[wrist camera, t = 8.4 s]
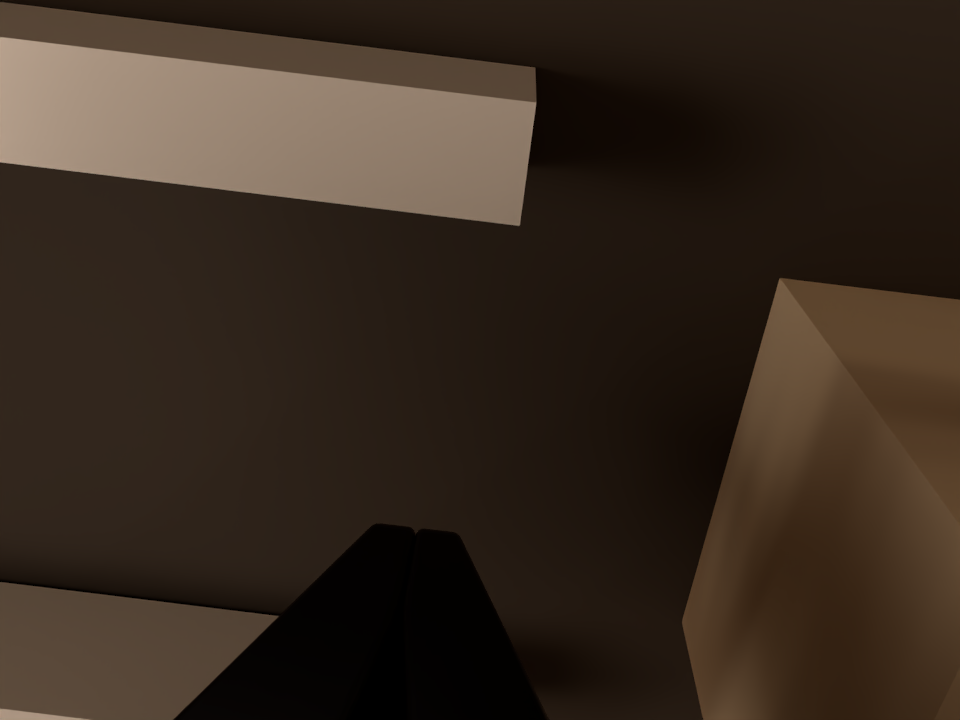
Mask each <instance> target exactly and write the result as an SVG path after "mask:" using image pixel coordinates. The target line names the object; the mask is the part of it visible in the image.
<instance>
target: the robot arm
mask: <svg viewBox="0 0 960 720" xmlns="http://www.w3.org/2000/svg"><path fill="white" fill-rule="evenodd" d="M173 720H549V719H548V717H547V714H546V712H545V710H544V708H543V706H542V704H541V702H540V700H539V698H538V696H537V694H536V692H535V690H534V688H533V686H532V684H531V682H530V679H529V677H528V675H527V673H526V671H525V669H524V667H523V665H522V663H521V661H520V659H519V657H518V655H517V653H516V651H515V649H514V647H513V644H512V642H511V640H510V638H509V636H508V634H507V632H506V630H505V628H504V626H503V624H502V622H501V620H500V618H499V616H498V614H497V612H496V609H495V607H494V605H493V603H492V601H491V599H490V597H489V595H488V593H487V591H486V589H485V587H484V585H483V583H482V581H481V579H480V576H479V574H478V572H477V570H476V568H475V566H474V564H473V562H472V560H471V558H470V556H469V554H468V552H467V550H466V548H465V546H464V544H463V541H462V540H461V538H460V536H459V535H458V534H456V533H454V532H448V531H439V530H431V529H421V530H419V531H418V532H417V533H416V536H415V532H414V530H413V529H412V528H411V527H406V526H397V525H389V524H381V523H380V524H374V525H372V526H371V527H370V528H369V529H368V530H367V531H366V532H365V533H364V534H363V535H362V536H361V537H360V538H359V539H358V540H356V541H355V542H354V543H353V544H352V545H351V546H350V547H349V548H348V549H347V550H346V551H345V552H344V553H343V554H342V555H341V556H340V557H339V558H338V559H337V560H336V561H335V562H334V563H333V564H332V565H331V566H330V567H329V568H328V569H327V570H326V571H325V572H324V573H323V574H322V575H321V576H320V577H319V578H318V579H317V580H316V581H314V582H313V583H312V584H311V585H310V586H309V587H308V588H307V589H306V590H305V591H304V592H303V593H302V594H301V595H300V596H299V597H298V598H297V599H296V600H295V601H294V602H293V603H292V604H291V605H290V606H289V607H288V608H287V609H286V610H285V611H284V612H283V613H282V614H281V615H280V616H279V617H278V618H277V619H276V620H275V621H274V622H273V623H271V624H270V625H269V626H268V627H267V628H266V629H265V630H264V631H263V632H262V633H261V634H260V635H259V636H258V637H257V638H256V639H255V640H254V641H253V642H252V643H251V644H250V645H249V646H248V647H247V648H246V649H245V650H244V651H243V652H242V653H241V654H240V655H239V656H238V657H237V658H236V659H235V660H234V661H233V662H232V663H231V664H230V665H228V666H227V667H226V668H225V669H224V670H223V671H222V672H221V673H220V674H219V675H218V676H217V677H216V678H215V679H214V680H213V681H212V682H211V683H210V684H209V685H208V686H207V687H206V688H205V689H204V690H203V691H202V692H201V693H200V694H199V695H198V696H197V697H196V698H195V699H194V700H193V701H192V702H191V703H190V704H189V705H187V706H186V707H185V708H184V709H183V710H182V711H181V712H180V713H179V714H178V715H177V716H176V717H175V718H174V719H173Z"/></svg>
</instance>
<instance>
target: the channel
mask: <svg viewBox="0 0 960 720" xmlns="http://www.w3.org/2000/svg"><path fill="white" fill-rule="evenodd" d="M535 109H536V72H535V67H527V66H519V65H510V64H502V63H494V62H486V61H478V60H470V59H462V58H453V57H445V56H437V55H429V54H421V53H413V52H405V51H396V50H388V49H380V48H372V47H364V46H356V45H347V44H339V43H331V42H323V41H315V40H307V39H299V38H290V37H282V36H274V35H266V34H258V33H250V32H241V31H233V30H225V29H217V28H209V27H201V26H193V25H184V24H176V23H168V22H160V21H152V20H144V19H135V18H127V17H119V16H111V15H103V14H95V13H87V12H78V11H70V10H62V9H54V8H46V7H38V6H30V5H21V4H13V3H5V2H0V162H3V163H11V164H19V165H27V166H35V167H43V168H52V169H60V170H68V171H76V172H84V173H92V174H101V175H109V176H117V177H125V178H133V179H141V180H150V181H158V182H166V183H174V184H182V185H190V186H198V187H207V188H215V189H223V190H231V191H239V192H247V193H256V194H264V195H272V196H280V197H288V198H296V199H304V200H313V201H321V202H329V203H337V204H345V205H353V206H362V207H370V208H378V209H386V210H394V211H402V212H410V213H419V214H427V215H435V216H443V217H451V218H459V219H468V220H476V221H484V222H492V223H500V224H508V225H516V226H520V220H521V213H522V205H523V198H524V190H525V183H526V176H527V168H528V161H529V154H530V146H531V139H532V131H533V124H534V117H535ZM278 617H279V616H274V615H266V614H258V613H249V612H241V611H233V610H225V609H217V608H209V607H200V606H192V605H184V604H176V603H168V602H160V601H152V600H143V599H135V598H127V597H119V596H111V595H103V594H94V593H86V592H78V591H70V590H62V589H54V588H45V587H37V586H29V585H21V584H13V583H5V582H0V720H173V719H174V718H175V717H176V716H177V715H178V714H179V713H180V712H181V711H182V710H183V709H184V708H185V707H186V706H187V705H189V704H190V703H191V702H192V701H193V700H194V699H195V698H196V697H197V696H198V695H199V694H200V693H201V692H202V691H203V690H204V689H205V688H206V687H207V686H208V685H209V684H210V683H211V682H212V681H213V680H214V679H215V678H216V677H217V676H218V675H219V674H220V673H221V672H222V671H223V670H224V669H225V668H226V667H227V666H228V665H230V664H231V663H232V662H233V661H234V660H235V659H236V658H237V657H238V656H239V655H240V654H241V653H242V652H243V651H244V650H245V649H246V648H247V647H248V646H249V645H250V644H251V643H252V642H253V641H254V640H255V639H256V638H257V637H258V636H259V635H260V634H261V633H262V632H263V631H264V630H265V629H266V628H267V627H268V626H269V625H270V624H271V623H273V622H274V621H275V620H276V619H277V618H278Z"/></svg>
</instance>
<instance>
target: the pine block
mask: <svg viewBox="0 0 960 720" xmlns="http://www.w3.org/2000/svg"><path fill="white" fill-rule="evenodd" d="M682 625H683V630H684V634H685V639H686V643H687V648H688V652H689V657H690V662H691V666H692V671H693V675H694V680H695V684H696V689H697V694H698V698H699V703H700V707H701V712H702V716H703V720H960V300H957V299H949V298H941V297H932V296H924V295H916V294H908V293H899V292H891V291H883V290H875V289H866V288H858V287H850V286H842V285H834V284H825V283H817V282H809V281H801V280H792V279H784V278H780V279H779V282H778V286H777V289H776V293H775V296H774V300H773V303H772V307H771V310H770V314H769V317H768V321H767V324H766V328H765V331H764V335H763V338H762V342H761V345H760V349H759V352H758V356H757V360H756V363H755V367H754V370H753V374H752V377H751V381H750V384H749V388H748V391H747V395H746V398H745V402H744V405H743V409H742V412H741V416H740V419H739V423H738V426H737V430H736V433H735V437H734V440H733V444H732V447H731V451H730V454H729V458H728V461H727V465H726V468H725V472H724V475H723V479H722V482H721V486H720V489H719V493H718V497H717V500H716V504H715V507H714V511H713V514H712V518H711V521H710V525H709V528H708V532H707V535H706V539H705V542H704V546H703V549H702V553H701V556H700V560H699V563H698V567H697V570H696V574H695V577H694V581H693V584H692V588H691V591H690V595H689V598H688V602H687V605H686V609H685V612H684V616H683V619H682Z"/></svg>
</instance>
